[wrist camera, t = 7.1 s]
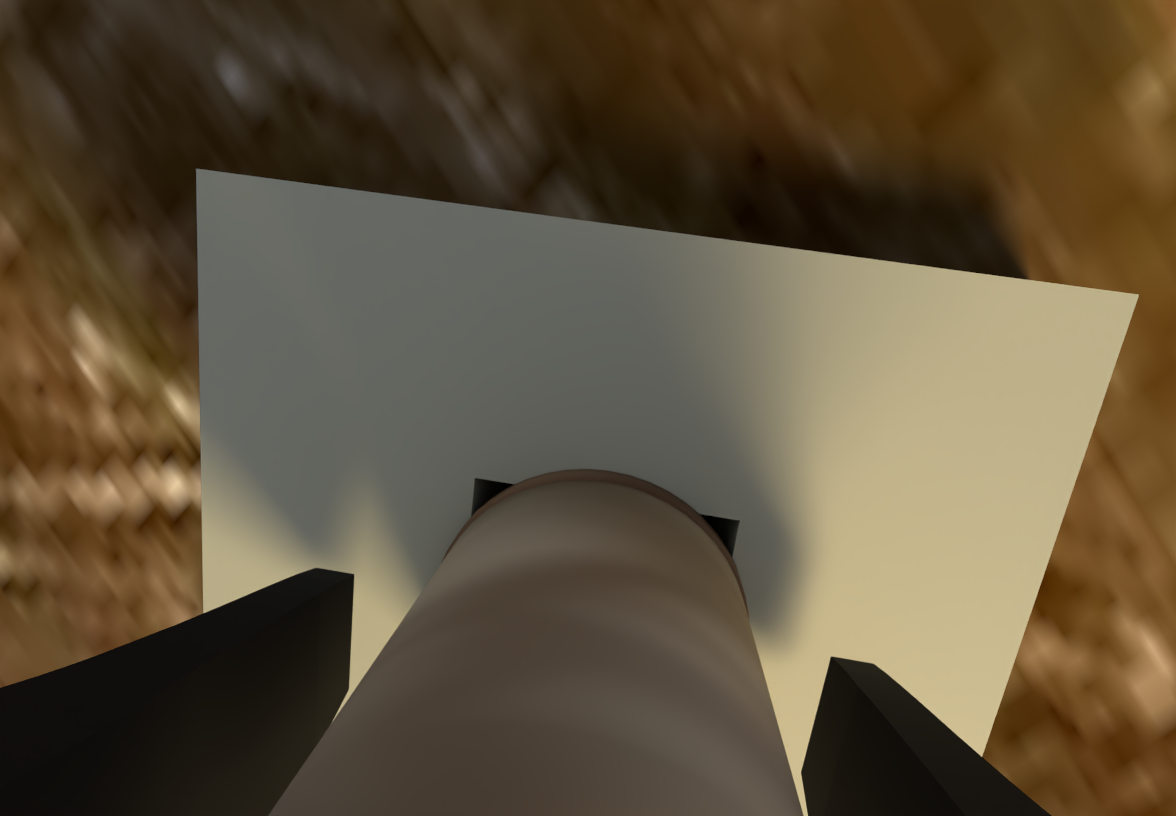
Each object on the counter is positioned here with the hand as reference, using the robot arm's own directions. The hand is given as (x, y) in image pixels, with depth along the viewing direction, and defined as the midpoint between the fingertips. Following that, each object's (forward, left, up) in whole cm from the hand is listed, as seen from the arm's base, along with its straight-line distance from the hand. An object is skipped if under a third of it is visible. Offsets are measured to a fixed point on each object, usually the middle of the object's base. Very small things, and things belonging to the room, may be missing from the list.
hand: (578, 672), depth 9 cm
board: (0, 0, -4) cm, 4 cm away
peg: (0, 0, -4) cm, 4 cm away
